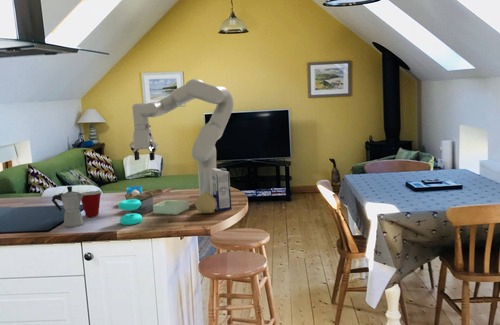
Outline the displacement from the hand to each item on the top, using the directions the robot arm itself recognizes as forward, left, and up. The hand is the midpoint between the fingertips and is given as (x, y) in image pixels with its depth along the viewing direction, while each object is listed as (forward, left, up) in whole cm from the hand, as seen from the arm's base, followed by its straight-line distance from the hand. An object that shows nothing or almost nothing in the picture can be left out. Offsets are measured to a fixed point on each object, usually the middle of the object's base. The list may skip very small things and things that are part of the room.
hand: (144, 160), depth 264 cm
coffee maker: (+10, +46, -23) cm, 52 cm away
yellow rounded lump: (-43, +14, -23) cm, 51 cm away
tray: (-23, +14, -23) cm, 36 cm away
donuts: (-16, +36, -23) cm, 45 cm away
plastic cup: (+12, +30, -23) cm, 39 cm away
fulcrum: (-8, +14, -23) cm, 28 cm away
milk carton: (-46, +4, -23) cm, 52 cm away
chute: (-8, +9, -17) cm, 21 cm away
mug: (+8, 0, -23) cm, 24 cm away
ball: (-3, +14, -15) cm, 21 cm away
